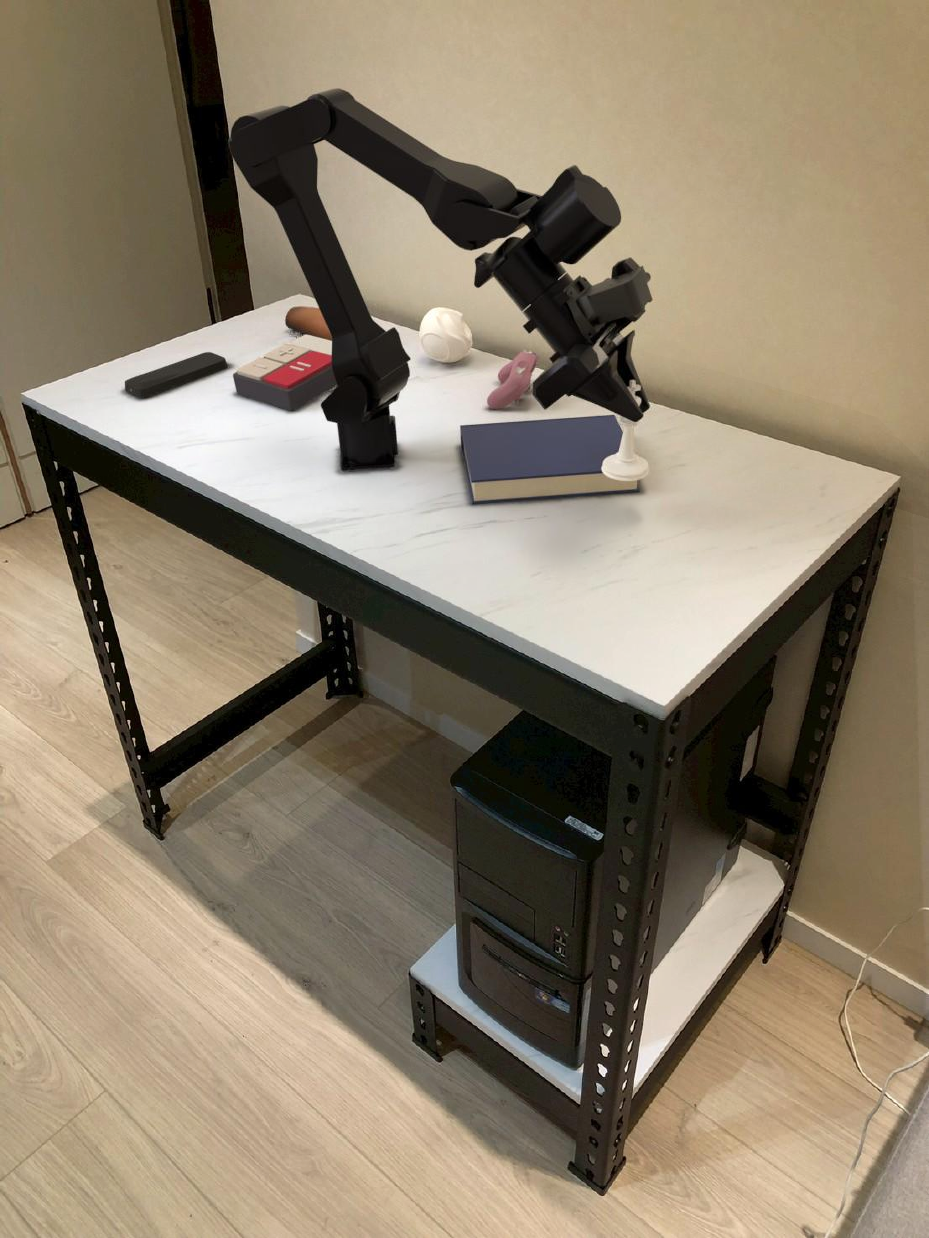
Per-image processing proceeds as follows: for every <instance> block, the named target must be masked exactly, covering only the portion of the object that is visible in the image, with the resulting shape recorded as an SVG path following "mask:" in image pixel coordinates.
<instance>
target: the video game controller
mask: <svg viewBox="0 0 929 1238" xmlns="http://www.w3.org/2000/svg"><path fill="white" fill-rule="evenodd" d="M539 358H540V355H538V354H537V353H536V352H533V351H532V350H531V351H527V350H526V349H525V348H524V349H523V351H521V352H519V353H518V354H517V355H516V356H515V357H514V358H513V359H512V360H511V361H510V362H508V363H507V364H505V365H504V366H502V367H501V368H500V370H499V372H498V374H497V379H498V382H500V384H501V385H499V386H498V387H497V388H495V389H494V390H493V391H491V392H490V393H489V395H488V396H487V399H486V404H487V407H488V408H491V409H492V410H497V409H503V408H505V407H507V406H509V405H511V404H513V403H516V404H517V403H518V401H519V399H520V398H522V396H523V394H524V393H525V392H528V393H529V392H530V391H532V390H533V382H532V383H531V381H532V376H533V373H534V371H535V370H536V367H537V363H538V360H539Z"/></svg>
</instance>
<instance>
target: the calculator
mask: <svg viewBox="0 0 929 1238" xmlns="http://www.w3.org/2000/svg"><path fill="white" fill-rule="evenodd" d="M331 357H332V341H330V340H326V339H322V338H318V337H315V336H311V335H306V334H302V335H301V336H300V337H297V338H295V339H294V340H292V341H290V342H289V343H284V344H282V345H280V346H278V347H276V348H274V349H273V350H271V351H269V352H267V353H265V354H263V357H257V358H255V359H254V360H252V361H250V362H248V363H246V364H244V365H242V366H241V367H239V368H237V369H236V372H234V373H233V374H232V377H233V383H234V387H235V391H236V394H237V395H240V396H243V397H245V398H248V399H252V400H255V401H258V402H262V403H264V404H268V405H271V406H274V407H277V408H280V409H283V410H287V411H290V412H294V411H296V410H297V409H299V408H302V407H303V406H305V405H306V404H308V403H310V402H311V401H313V400H315V399H316V398H318V397H320V396H321V395H323V394H324V393H327V392H329V390H331V389H333V388H336V387H337V384H336V380H335V377H334V374H333V370H332V367H331Z"/></svg>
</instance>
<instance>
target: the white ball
mask: <svg viewBox="0 0 929 1238" xmlns="http://www.w3.org/2000/svg"><path fill="white" fill-rule="evenodd" d="M418 332H419V333H418V334H419V341H420V345H421V347H422V350H423V351H424V353H425V354H426V355H427V356H428V357H429V358H431V359H432V360H434V361H436V362H439V363H445V364H448V363H456V362H458V361H460V360H461V359H463V358H465V357H466V356H467V355H468V354H469V353H470V350H471V348H472V347H473V335H472V334H473V333H472V329H470V328H469V326H468V325H467V323H466V321H464V320H463V312H460V311H457V310H455V309H451V308H448V307H447V308H446V307H434V308H431V309H430V310H429V311H428V312H426V314H425V315H424V317H423V318H422V320H421V322H420V325H419V331H418Z"/></svg>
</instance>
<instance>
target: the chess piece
mask: <svg viewBox="0 0 929 1238" xmlns="http://www.w3.org/2000/svg"><path fill="white" fill-rule="evenodd" d="M627 388H628V390H629V391H630V393H631V394H632V396H633V397H634V399H635V401H636V402H637V404H638V406H640V403H641V399H640V397H638V396H636V395H635V391H639V390H640V389H641V386H640V385H639V384H638V385H636V381H635V380H630V385H629V387H627ZM640 421H641V420H639V421H638V422H633V421H631V420H629V419H627V418H624V417H622V416H620V417H619V419H618V423H619V425H620V426H623V429H622V431H623V435H622V439H621V444H620V448H619V452H618V453H616V454H614V455H611V456H609V457H607V458H606V459H604V461H603V464H602V468H601V470H602V472H603V473H604V474H605V475H606V476H607V477H609V478H612V479H615V480H619V481H635V480H637V481H639V480H642V479H644V478H645V477H647V475H648V474H649V464H648V463H649V462H647V460H646V459H644V458H643V457H642V456H640V455H637V454H636V453H635V436H634V435H635V434H634V431H635V430H634V428H635V427H637V426H639V425H640V423H641V422H640Z"/></svg>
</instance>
